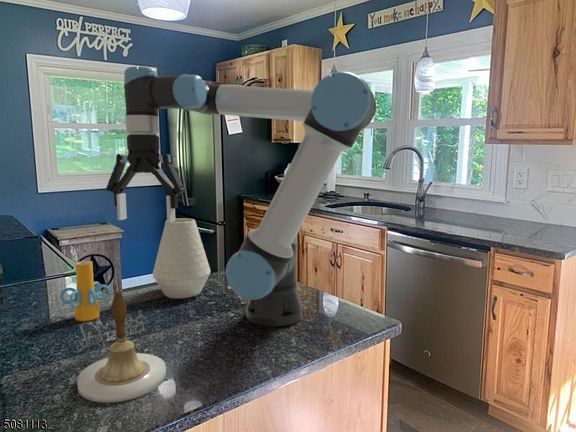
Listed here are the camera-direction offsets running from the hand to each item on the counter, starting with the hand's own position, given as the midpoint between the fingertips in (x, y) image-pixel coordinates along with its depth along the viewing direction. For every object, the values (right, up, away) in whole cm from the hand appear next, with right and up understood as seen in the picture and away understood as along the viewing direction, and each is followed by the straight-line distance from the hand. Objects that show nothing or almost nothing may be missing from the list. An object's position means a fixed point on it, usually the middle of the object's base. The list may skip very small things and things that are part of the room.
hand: (146, 220), depth 109 cm
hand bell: (+3, -29, -25) cm, 38 cm away
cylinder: (-18, -26, +7) cm, 32 cm away
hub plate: (+3, -31, -24) cm, 39 cm away
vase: (+2, -23, +28) cm, 36 cm away
